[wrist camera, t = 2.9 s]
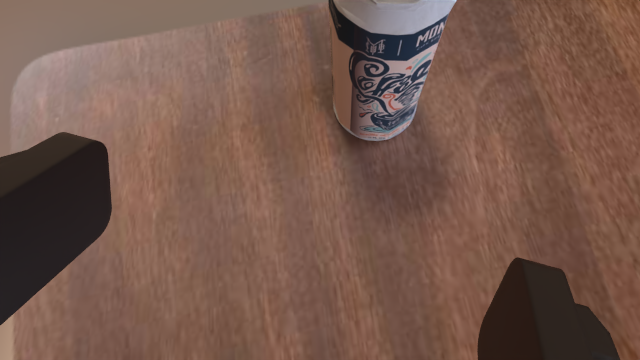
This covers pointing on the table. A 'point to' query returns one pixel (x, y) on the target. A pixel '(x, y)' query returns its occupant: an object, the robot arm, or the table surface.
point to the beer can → (382, 61)
